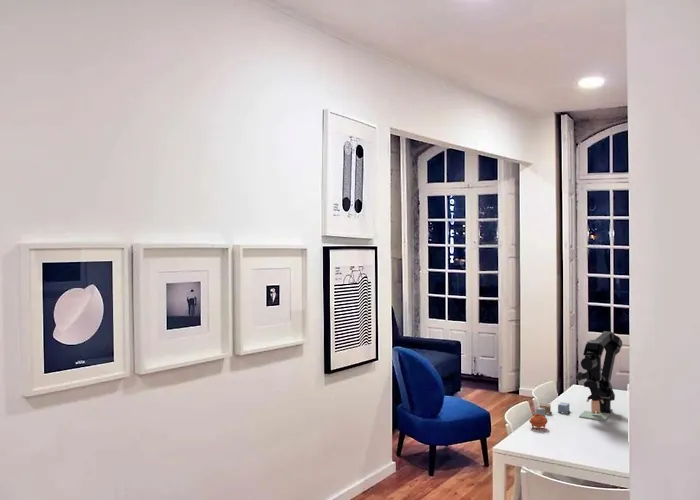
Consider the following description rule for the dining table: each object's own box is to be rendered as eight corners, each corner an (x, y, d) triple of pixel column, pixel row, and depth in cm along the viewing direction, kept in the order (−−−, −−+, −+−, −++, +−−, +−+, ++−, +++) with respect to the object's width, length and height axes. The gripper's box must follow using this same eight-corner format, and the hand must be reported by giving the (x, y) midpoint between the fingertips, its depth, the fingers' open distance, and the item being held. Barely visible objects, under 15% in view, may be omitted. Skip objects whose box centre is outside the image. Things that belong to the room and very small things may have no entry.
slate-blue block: (561, 410, 315) (561, 402, 315) (569, 411, 313) (569, 403, 313) (558, 412, 310) (558, 404, 310) (566, 413, 308) (566, 405, 308)
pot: (550, 430, 278) (546, 415, 279) (532, 433, 280) (529, 419, 280) (548, 424, 286) (544, 410, 286) (530, 428, 288) (527, 413, 288)
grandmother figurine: (601, 412, 304) (601, 386, 304) (604, 414, 300) (604, 388, 301) (585, 411, 305) (585, 386, 305) (587, 413, 301) (587, 387, 301)
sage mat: (584, 411, 311) (584, 410, 311) (610, 415, 304) (610, 414, 304) (579, 417, 301) (579, 416, 301) (605, 421, 294) (605, 419, 294)
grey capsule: (537, 415, 305) (537, 407, 305) (546, 416, 303) (546, 408, 303) (534, 417, 301) (534, 409, 301) (543, 418, 299) (543, 410, 299)
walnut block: (540, 411, 313) (540, 403, 313) (550, 411, 312) (550, 404, 311) (539, 413, 308) (539, 405, 308) (550, 414, 307) (550, 406, 307)
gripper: (581, 362, 315) (582, 392, 315) (572, 368, 299) (572, 400, 299) (605, 364, 309) (605, 395, 309) (597, 370, 293) (597, 403, 293)
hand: (594, 398), depth 303 cm, fingers closed on grandmother figurine, 3 cm apart
